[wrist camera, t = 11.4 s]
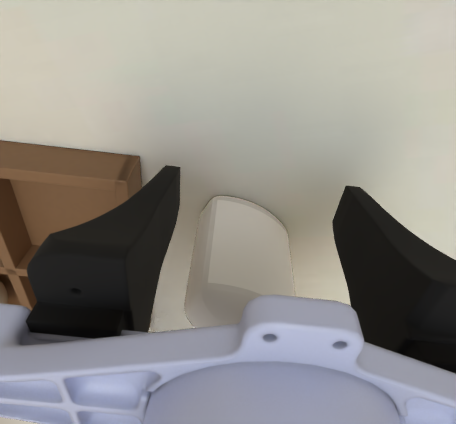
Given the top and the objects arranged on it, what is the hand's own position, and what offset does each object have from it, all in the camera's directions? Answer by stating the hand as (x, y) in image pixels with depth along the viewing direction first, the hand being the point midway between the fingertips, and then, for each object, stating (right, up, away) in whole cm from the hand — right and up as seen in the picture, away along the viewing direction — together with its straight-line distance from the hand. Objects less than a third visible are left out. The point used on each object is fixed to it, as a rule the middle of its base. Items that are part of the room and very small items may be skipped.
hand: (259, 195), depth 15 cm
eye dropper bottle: (0, -1, +7) cm, 7 cm away
